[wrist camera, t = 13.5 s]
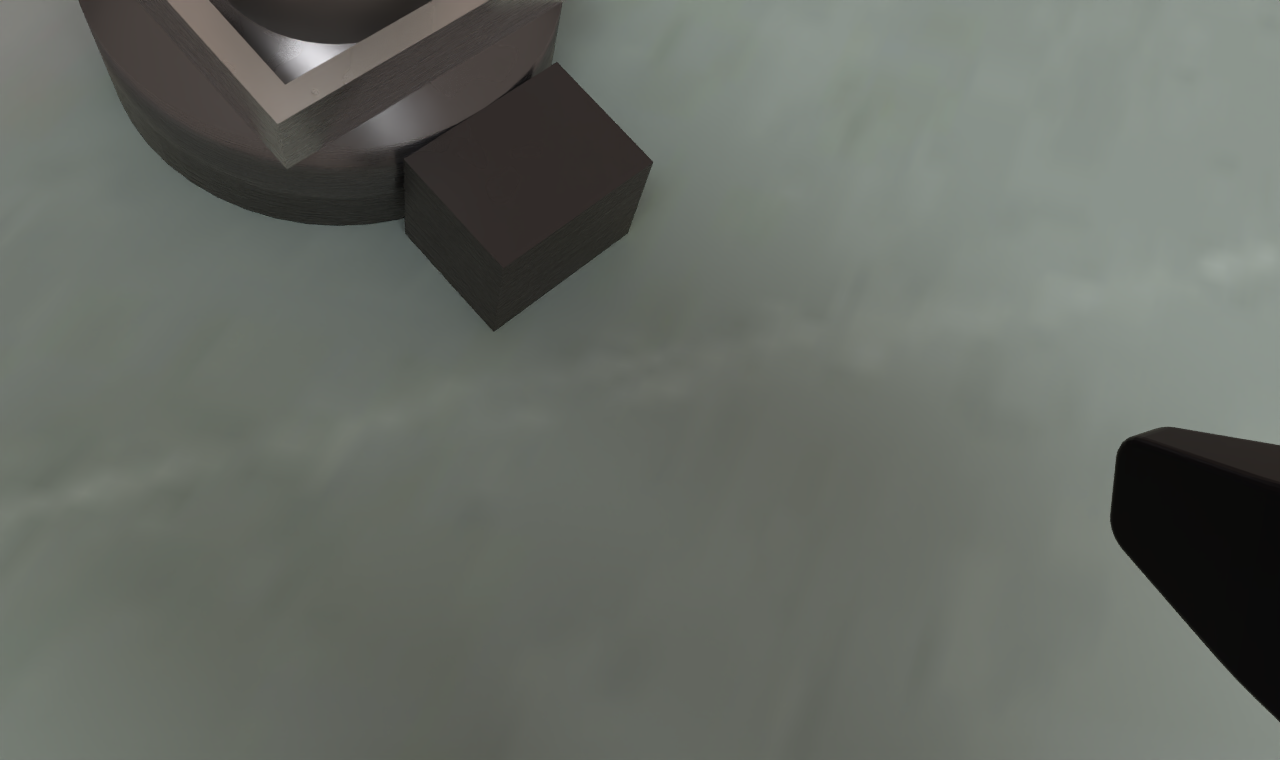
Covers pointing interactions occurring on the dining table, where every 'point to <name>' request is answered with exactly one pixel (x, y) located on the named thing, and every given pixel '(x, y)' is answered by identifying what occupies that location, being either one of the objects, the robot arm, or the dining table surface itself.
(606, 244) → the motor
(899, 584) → the dining table surface
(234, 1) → the beige teal capped bottle
